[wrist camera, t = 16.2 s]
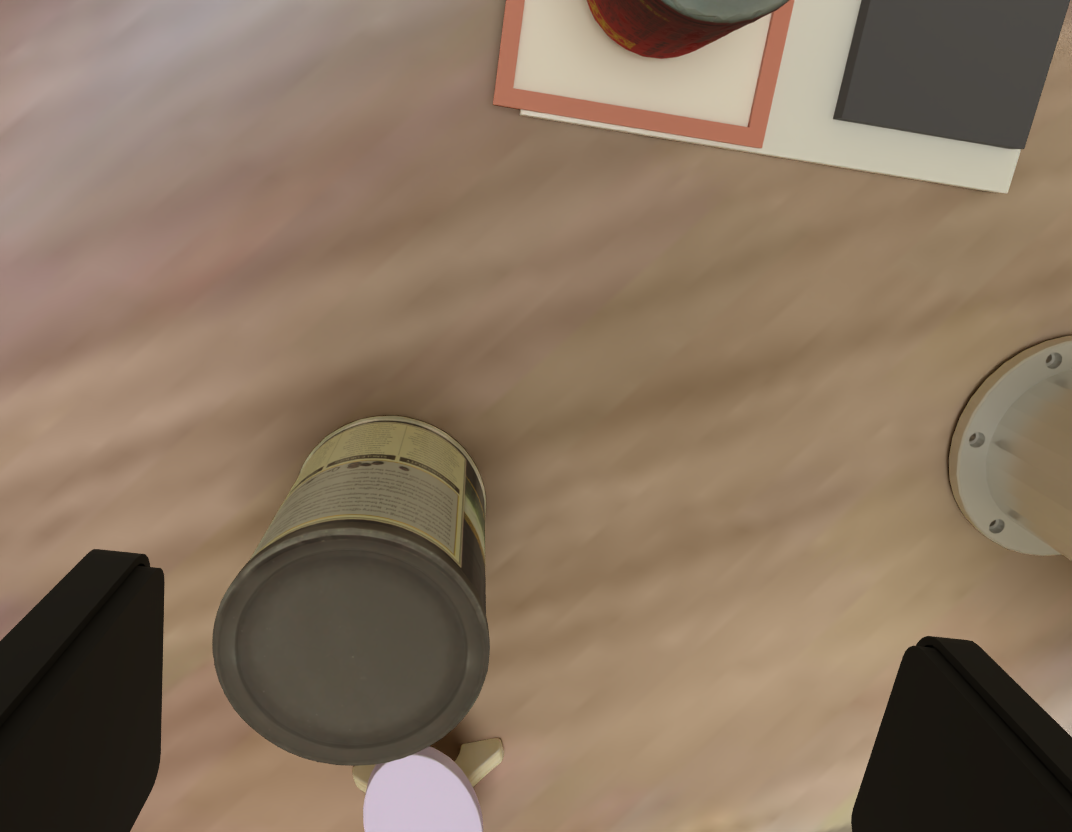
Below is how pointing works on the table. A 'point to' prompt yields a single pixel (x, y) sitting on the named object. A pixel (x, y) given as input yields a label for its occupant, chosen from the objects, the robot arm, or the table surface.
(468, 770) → the toy table
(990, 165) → the board
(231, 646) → the coffee can
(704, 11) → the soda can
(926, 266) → the table surface
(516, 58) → the red bordered square panel
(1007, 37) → the ink pad
